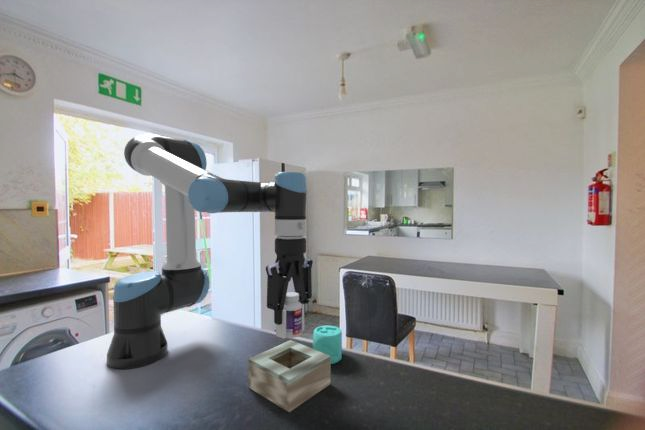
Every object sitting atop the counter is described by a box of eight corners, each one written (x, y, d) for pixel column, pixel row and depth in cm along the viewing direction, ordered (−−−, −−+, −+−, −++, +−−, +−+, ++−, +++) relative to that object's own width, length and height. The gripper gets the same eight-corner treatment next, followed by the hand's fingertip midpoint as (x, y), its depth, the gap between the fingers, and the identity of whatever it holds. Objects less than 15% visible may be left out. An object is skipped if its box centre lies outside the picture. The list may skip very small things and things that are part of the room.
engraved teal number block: (341, 365, 86) (341, 336, 86) (312, 364, 87) (312, 335, 87) (341, 351, 94) (341, 325, 94) (314, 350, 95) (314, 324, 95)
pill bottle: (298, 339, 73) (298, 297, 72) (276, 337, 74) (276, 296, 73) (304, 330, 78) (304, 291, 78) (283, 328, 79) (283, 290, 79)
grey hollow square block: (248, 387, 75) (248, 358, 75) (290, 365, 86) (290, 339, 86) (289, 412, 66) (289, 380, 66) (330, 383, 77) (330, 355, 77)
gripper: (271, 241, 66) (271, 350, 66) (326, 235, 80) (326, 325, 80) (249, 238, 70) (249, 341, 71) (305, 233, 85) (305, 318, 85)
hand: (290, 332), depth 76 cm, fingers closed on pill bottle, 5 cm apart
